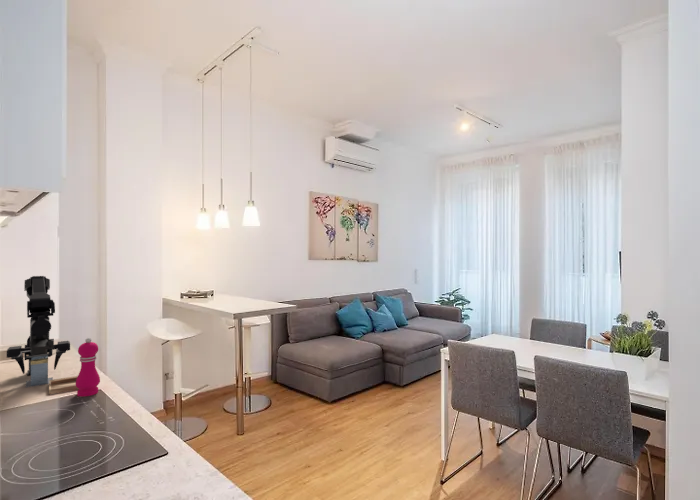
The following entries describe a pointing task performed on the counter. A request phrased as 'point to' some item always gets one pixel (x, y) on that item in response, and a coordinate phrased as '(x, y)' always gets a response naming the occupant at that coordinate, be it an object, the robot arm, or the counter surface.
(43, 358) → the tin
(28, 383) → the mat
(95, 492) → the counter surface
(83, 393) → the pepper mill
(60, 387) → the beige shallow tray
